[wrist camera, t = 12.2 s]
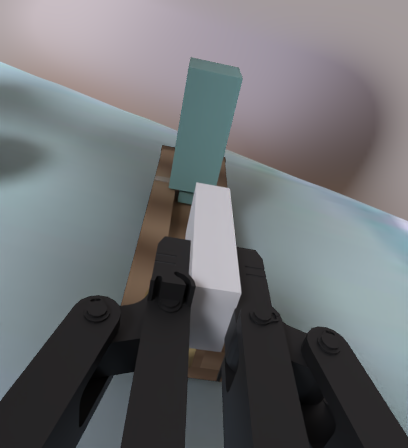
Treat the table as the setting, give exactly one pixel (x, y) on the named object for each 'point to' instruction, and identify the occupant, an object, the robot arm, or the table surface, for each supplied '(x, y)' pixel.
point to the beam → (147, 246)
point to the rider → (204, 125)
